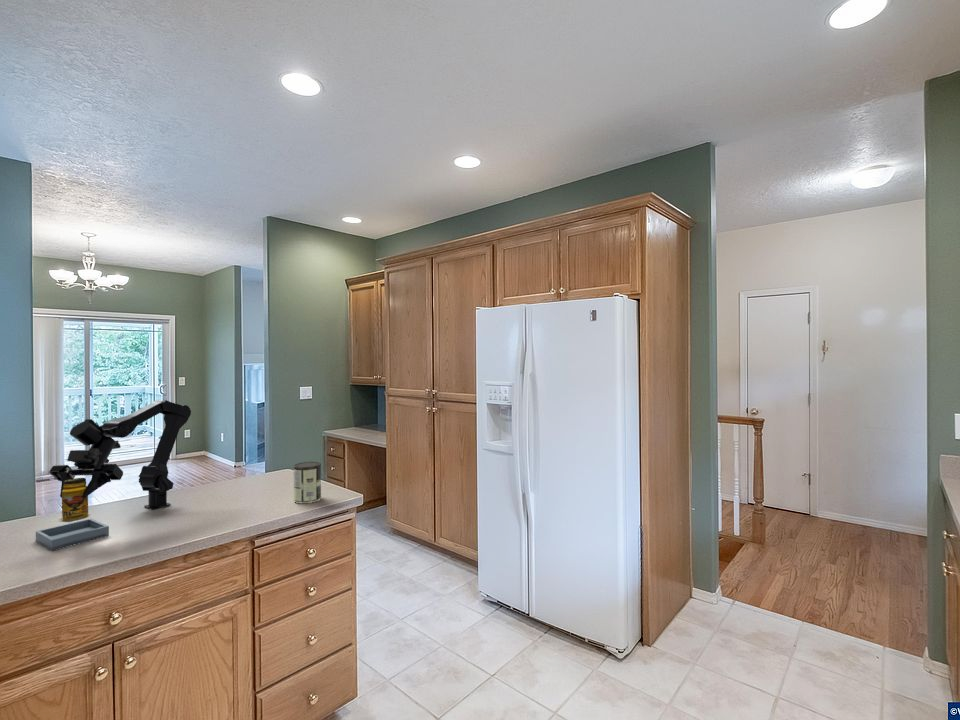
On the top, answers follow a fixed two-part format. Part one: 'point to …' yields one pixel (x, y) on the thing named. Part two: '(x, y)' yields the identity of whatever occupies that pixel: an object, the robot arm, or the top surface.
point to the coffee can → (307, 482)
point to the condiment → (74, 501)
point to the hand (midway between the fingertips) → (72, 497)
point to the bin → (71, 534)
